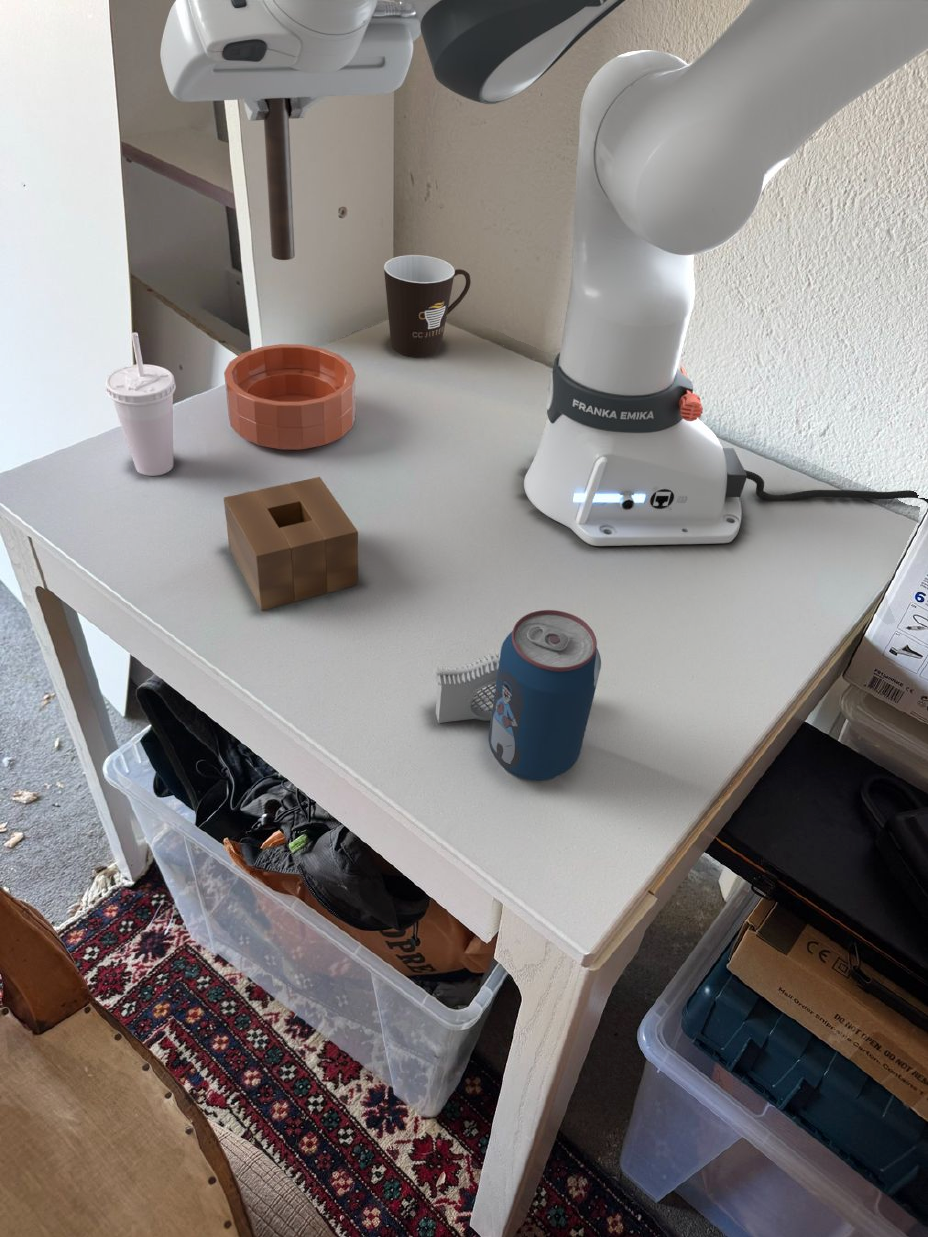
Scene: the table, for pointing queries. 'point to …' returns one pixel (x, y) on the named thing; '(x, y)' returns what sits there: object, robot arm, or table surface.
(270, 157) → the stick
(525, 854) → the table surface
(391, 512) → the table surface
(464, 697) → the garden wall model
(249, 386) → the bowl
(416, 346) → the coffee mug
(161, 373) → the smoothie
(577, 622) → the soda can
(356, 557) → the stand
